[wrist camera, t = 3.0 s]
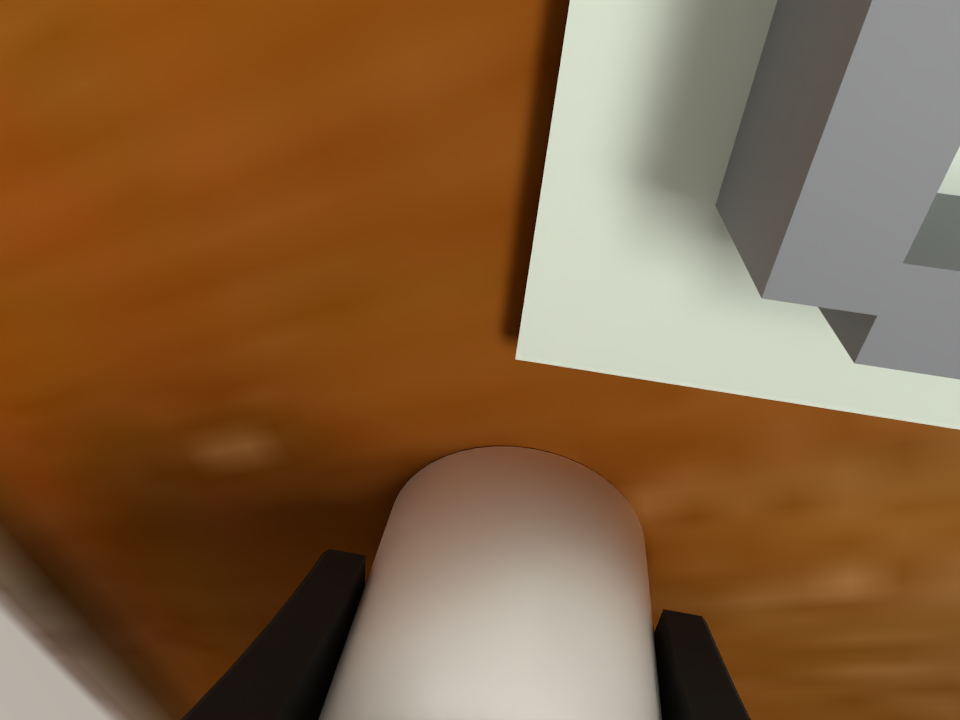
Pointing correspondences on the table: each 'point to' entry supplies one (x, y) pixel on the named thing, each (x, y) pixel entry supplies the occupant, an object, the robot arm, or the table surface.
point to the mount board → (756, 202)
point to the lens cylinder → (503, 599)
